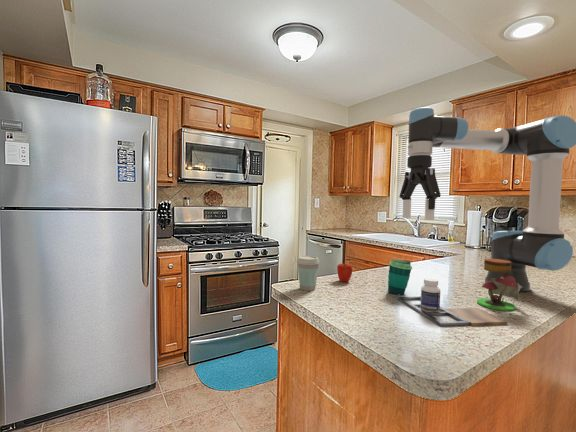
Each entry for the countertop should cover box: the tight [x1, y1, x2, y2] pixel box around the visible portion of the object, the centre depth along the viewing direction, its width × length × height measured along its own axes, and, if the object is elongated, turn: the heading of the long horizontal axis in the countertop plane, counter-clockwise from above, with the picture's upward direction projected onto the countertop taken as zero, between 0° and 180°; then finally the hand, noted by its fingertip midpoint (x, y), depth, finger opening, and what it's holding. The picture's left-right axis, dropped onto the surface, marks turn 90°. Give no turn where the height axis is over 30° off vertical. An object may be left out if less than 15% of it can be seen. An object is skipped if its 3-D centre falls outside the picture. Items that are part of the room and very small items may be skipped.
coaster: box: [445, 307, 508, 327], centre depth 89 cm, size 11×11×1 cm
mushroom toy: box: [476, 258, 522, 312], centre depth 99 cm, size 12×13×15 cm
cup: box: [387, 258, 413, 296], centre depth 112 cm, size 8×8×12 cm
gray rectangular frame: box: [397, 295, 471, 327], centre depth 93 cm, size 9×23×1 cm, turn 8°
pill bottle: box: [419, 277, 441, 312], centre depth 93 cm, size 5×5×10 cm
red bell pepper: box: [336, 263, 353, 283], centre depth 127 cm, size 6×6×8 cm
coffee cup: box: [296, 255, 320, 292], centre depth 115 cm, size 9×8×12 cm
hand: (417, 218), depth 102 cm, fingers open, 13 cm apart
